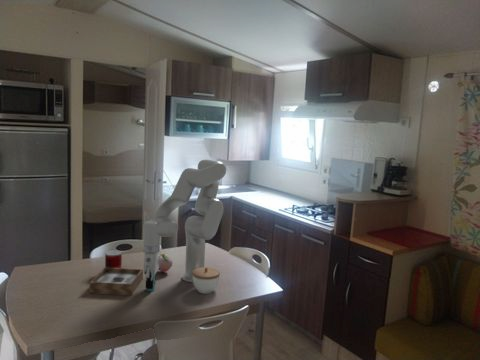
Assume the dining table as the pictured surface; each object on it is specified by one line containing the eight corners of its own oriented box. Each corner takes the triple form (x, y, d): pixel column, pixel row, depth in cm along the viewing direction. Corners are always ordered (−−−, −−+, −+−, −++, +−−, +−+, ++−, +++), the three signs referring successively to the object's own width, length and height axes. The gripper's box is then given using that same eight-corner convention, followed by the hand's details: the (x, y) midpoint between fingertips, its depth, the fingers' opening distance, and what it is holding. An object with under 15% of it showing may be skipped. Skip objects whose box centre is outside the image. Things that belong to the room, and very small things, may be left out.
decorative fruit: (151, 271, 201) (151, 252, 200) (165, 268, 206) (165, 250, 205) (160, 277, 194) (161, 257, 193) (174, 273, 199) (175, 254, 198)
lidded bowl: (186, 288, 182) (187, 266, 180) (208, 282, 190) (209, 261, 188) (201, 298, 172) (202, 274, 171) (224, 292, 180) (225, 269, 179)
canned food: (123, 271, 199) (124, 250, 198) (117, 277, 191) (117, 255, 190) (109, 270, 200) (109, 249, 198) (102, 275, 192) (102, 254, 191)
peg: (155, 288, 180) (155, 267, 179) (153, 291, 177) (153, 270, 175) (147, 288, 180) (148, 267, 179) (145, 291, 177) (146, 270, 175)
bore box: (142, 279, 190) (143, 269, 190) (131, 295, 172) (131, 284, 171) (105, 277, 190) (105, 267, 190) (89, 293, 172) (89, 282, 171)
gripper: (155, 254, 168) (154, 294, 170) (163, 243, 184) (162, 280, 186) (138, 253, 168) (137, 293, 170) (147, 242, 184) (147, 279, 187)
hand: (150, 286), depth 178 cm, fingers closed on peg, 3 cm apart
